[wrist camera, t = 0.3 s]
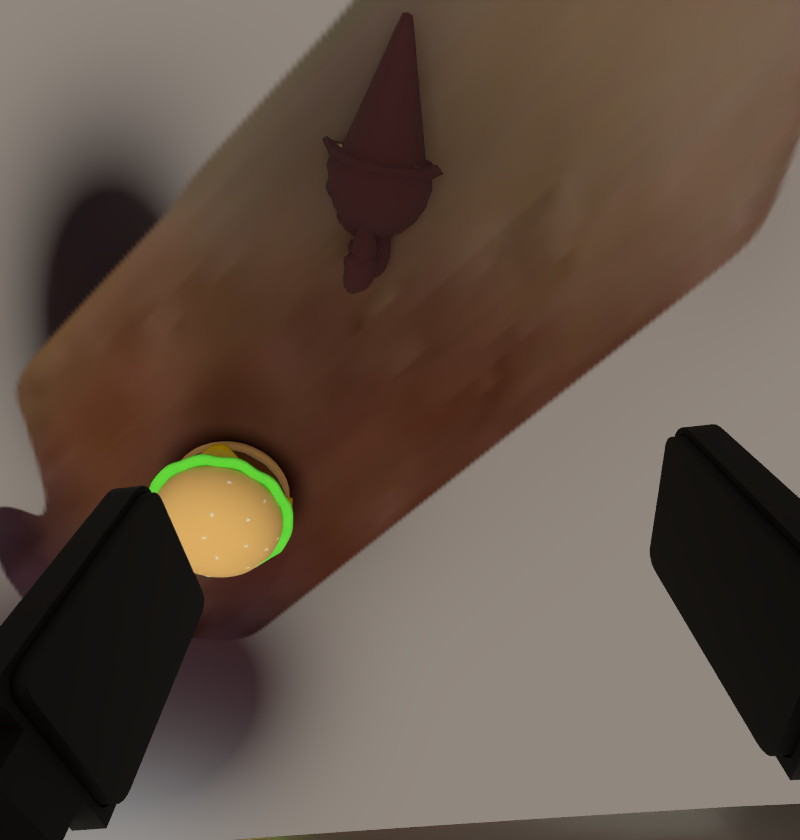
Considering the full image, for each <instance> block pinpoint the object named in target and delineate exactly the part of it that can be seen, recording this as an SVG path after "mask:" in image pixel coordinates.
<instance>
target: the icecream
mask: <svg viewBox="0 0 800 840" xmlns="http://www.w3.org/2000/svg"><path fill="white" fill-rule="evenodd" d="M323 142H324V144H325V146H326V148H327V150H328V152H329V154H330V156H329V159H328V162H327V168H328V176H329V179H328V181H327V184H326V189H327V192H328V194H329V195H330V197H331V198H332V202H333V205H334V207H335V209H336V211H337V212H338V213H337V218H338V221H339V223H340V224H341V225H342V226H343V227H344V228H345V229H346V231H348V232H349V233H351V234H353V235H355V238H354V240H351V241H350V243H349V244H348V249H349V253H350V254H348V255H347V256H346V257H345V259H344V267H345V269H344V277H343V279H344V287H345V288H346V290H347V291H348V292H349V293H351V294H354V293H358V292H360V291H363V290H366V289H367V288H368V286H369V285H370V284H371V283H372V281H373V277H378V276H379V275H380V274H381V273H382V272H384V270H385V267H386V265H387V262H388V260H389V255H390V235H394V234H398V233H401V232H403V231H404V230H405V229H407V228H408V227H409V226H411V225H412V224H413V223H415V221H416V220H417V219H418V217H419V216H420V215H421V213H422V212H423V211H424V209H425V208H426V205H427V202H428V199H429V197H430V194H431V191H432V179H434V178H436V177H437V176H439V175H442V174H443V172H442V171H441V169H440V168H439V167H438V166H437V165H434V166H433V164H432V163H431V162H430V161H428V160H425V149H424V137H423V126H422V115H421V104H420V93H419V81H418V70H417V58H416V45H415V32H414V23H413V15H411V14H410V13H408V12H406V13H402V15H401V17H400V19H399V21H398V24H397V26H396V28H395V30H394V32H393V34H392V37H391V39H390V41H389V43H388V46H387V48H386V50H385V52H384V55H383V57H382V59H381V61H380V63H379V66H378V68H377V70H376V72H375V75H374V77H373V79H372V81H371V83H370V86H369V88H368V90H367V92H366V94H365V97H364V99H363V101H362V103H361V105H360V108H359V110H358V112H357V114H356V116H355V119H354V121H353V123H352V125H351V127H350V130H349V132H348V134H347V136H346V138H345V141H344V143H342V142H338V141H334V140H332V139H330V138H329V137H327V136H326V137H325V138H323Z"/></svg>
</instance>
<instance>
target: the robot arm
mask: <svg viewBox="0 0 800 840" xmlns="http://www.w3.org/2000/svg"><path fill="white" fill-rule="evenodd" d="M650 558H651V562H652V565H653V568H654V569H655V571H656V573H657V575H658V576H659V578H660V580H661V582H662V583H663V585H664V587H665V588H666V590H667V592H668V594H669V595H670V597H671V598H672V600H673V602H674V604H675V605H676V607H677V609H678V610H679V612H680V614H681V615H682V617H683V619H684V621H685V622H686V624H687V625H688V627H689V629H690V631H691V632H692V634H693V636H694V637H695V639H696V641H697V642H698V644H699V646H700V647H701V649H702V651H703V653H704V654H705V656H706V658H707V659H708V661H709V662H710V664H711V666H712V668H713V669H714V671H715V673H716V674H717V676H718V678H719V680H720V681H721V683H722V685H723V686H724V688H725V690H726V691H727V693H728V695H729V696H730V698H731V700H732V702H733V703H734V705H735V707H736V708H737V710H738V712H739V713H740V715H741V717H742V718H743V720H744V722H745V723H746V725H747V727H748V729H749V730H750V732H751V733H752V735H753V737H754V739H755V740H756V742H757V744H758V745H759V746H760V748H761V749H762V750H763V751H764V752H765V753H766V754H767V755H769V756H776V757H777V759H778V761H779V762H780V764H781V766H782V767H783V769H784V771H785V772H786V774H787V776H788V777H789V779H790V780H800V498H799V497H797V496H796V495H795V494H794V493H793V492H792V491H791V490H790V489H788V488H787V487H786V486H785V485H784V484H783V483H782V482H781V481H780V480H779V479H777V478H776V477H775V476H774V475H773V474H772V473H771V472H770V471H769V470H768V469H766V468H765V467H764V466H763V465H762V464H761V463H760V462H759V461H758V460H756V459H755V458H754V457H753V456H752V455H751V454H750V453H749V452H748V451H746V450H745V449H744V448H743V447H742V446H741V445H740V444H739V443H738V442H736V441H735V440H734V439H733V438H732V437H731V436H730V435H729V434H728V433H727V432H725V431H724V430H723V429H722V428H721V427H719V426H718V425H714V424H711V425H703V426H693V427H683V428H680V429H678V431H677V432H676V434H675V437H670V438H668V440H667V442H666V445H665V452H664V459H663V465H662V472H661V479H660V485H659V493H658V499H657V505H656V512H655V519H654V526H653V532H652V539H651V545H650ZM203 606H204V596H203V592H202V590H201V587H200V585H199V583H198V580H197V578H196V576H195V574H194V571H193V569H192V567H191V565H190V562H189V560H188V558H187V555H186V553H185V551H184V549H183V546H182V544H181V542H180V540H179V537H178V535H177V533H176V530H175V528H174V526H173V524H172V521H171V519H170V517H169V515H168V512H167V510H166V508H165V505H164V503H163V501H162V499H161V497H160V495H159V494H157V493H155V492H151V490H150V489H149V488H148V487H146V486H136V487H127V488H118V489H113V490H111V491H110V492H108V493H107V494H106V496H105V497H104V498H103V499H102V501H101V502H100V503H99V504H98V506H97V507H96V508H95V509H94V511H93V512H92V513H91V514H90V516H89V517H88V518H87V519H86V520H85V522H84V523H83V524H82V525H81V527H80V528H79V529H78V530H77V532H76V533H75V534H74V535H73V537H72V538H71V539H70V540H69V542H68V543H67V544H66V545H65V547H64V548H63V549H62V550H61V552H60V553H59V554H58V555H57V557H56V558H55V559H54V560H53V561H52V563H51V564H50V565H49V566H48V568H47V569H46V570H45V571H44V573H43V574H42V575H41V576H40V578H39V579H38V580H37V581H36V583H35V584H34V585H33V586H32V588H31V589H30V590H29V591H28V593H27V594H26V595H25V596H24V597H23V599H22V600H21V601H20V602H19V604H18V605H17V606H16V607H15V609H14V610H13V611H12V612H11V614H10V615H9V616H8V617H7V619H6V620H5V621H4V622H3V624H2V625H1V626H0V840H63V839H64V837H65V835H66V832H67V830H68V828H69V827H70V829H71V830H72V831H73V830H87V829H101V828H107V825H108V823H109V821H110V818H111V816H112V813H113V811H114V808H115V806H116V804H119V803H120V802H122V801H123V800H124V799H125V798H126V796H127V795H128V793H129V790H130V789H131V786H132V784H133V781H134V779H135V776H136V774H137V771H138V769H139V766H140V764H141V761H142V759H143V757H144V754H145V752H146V749H147V747H148V744H149V742H150V739H151V737H152V734H153V732H154V729H155V727H156V724H157V722H158V720H159V717H160V715H161V712H162V710H163V707H164V705H165V702H166V700H167V698H168V695H169V693H170V690H171V688H172V685H173V683H174V680H175V677H176V675H177V673H178V670H179V668H180V666H181V663H182V661H183V658H184V656H185V653H186V651H187V648H188V646H189V643H190V641H191V638H192V636H193V634H194V631H195V629H196V626H197V624H198V621H199V619H200V616H201V614H202V611H203ZM238 840H800V804H787V805H765V806H742V807H722V808H707V809H690V810H674V811H658V812H642V813H626V814H611V815H595V816H594V815H593V816H577V817H561V818H546V819H531V820H514V821H500V822H485V823H469V824H454V825H439V826H426V827H410V828H395V829H380V830H366V831H352V832H337V833H324V834H307V835H293V836H278V837H265V838H253V839H252V838H251V839H238Z"/></svg>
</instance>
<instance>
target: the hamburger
mask: <svg viewBox="0 0 800 840" xmlns="http://www.w3.org/2000/svg"><path fill="white" fill-rule="evenodd" d="M149 489H150V490H151V492H155V493H157V494H159V495H160V497H161V499H162V501H163V503H164V505H165V508H166V510H167V512H168V515H169V517H170V519H171V521H172V524H173V526H174V528H175V530H176V533H177V535H178V537H179V540H180V542H181V544H182V546H183V549H184V551H185V553H186V555H187V558H188V560H189V562H190V565H191V567H192V569H193V571H194V573H197V574H200V575H204V576H207V577H232V576H237V575H241V574H243V573H246V572H248V571H250V570H252V569H253V568H255V567H257V566H259V565H261V564H262V563H264V562H265V561H267V560H268V559H270V558H271V557H273V556H275V555H277V554H279V553H280V552H281V551H282V550H283V549H284V547H285V546H286V544H287V542H288V540H289V538H290V536H291V533H292V530H293V509H292V508H293V498H290V494H289V486H288V482H287V479H286V477H285V475H284V473H283V472H282V470H281V469H280V467H279V466H278V465H277V463H276V462H275V461H274V460H272V459H271V458H270V457H269V456H268V455H266V454H265V453H264V452H262V451H260V450H258V449H256V448H254V447H252V446H249V445H246V444H243V443H238V442H229V441H221V442H213V443H209V444H205V445H202V446H200V447H197V448H195V449H193V450H192V451H191V452H189V453H188V454H187V455H185V457H184V458H183V459H182V460H181V461H178V462H174V463H171V464H169V465H168V466H166V467H165V468H164V469H163V470H161V471H160V473H159V474H158V475H157V476H156V477H155V478H154V480H153V481H152V483H151V485H150V488H149Z"/></svg>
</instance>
